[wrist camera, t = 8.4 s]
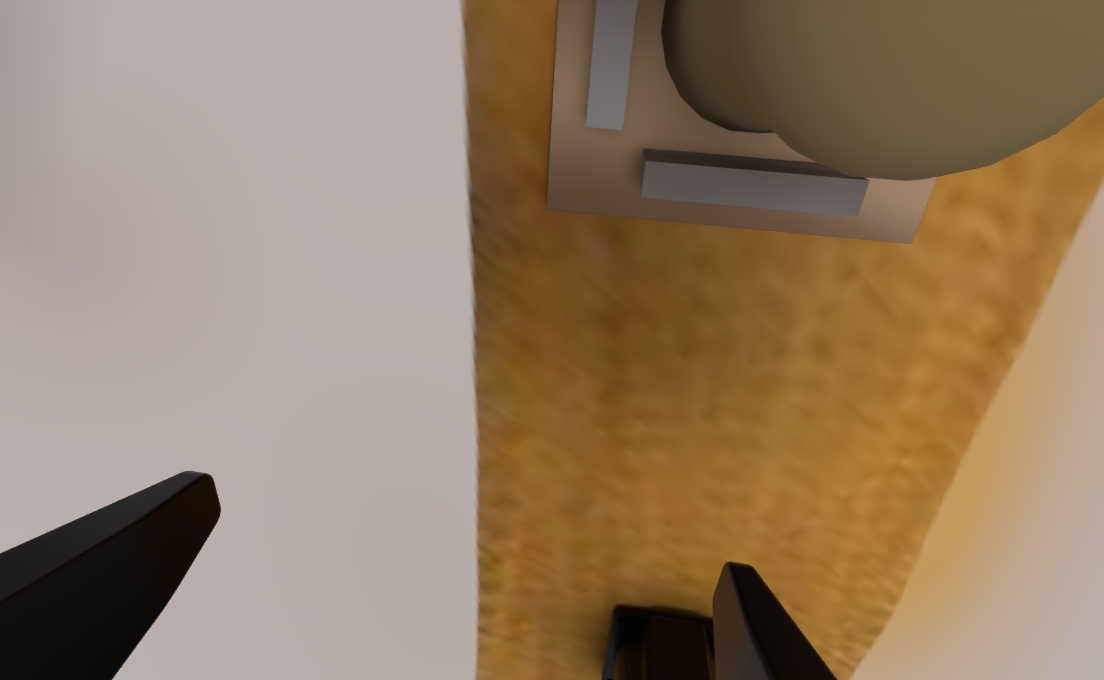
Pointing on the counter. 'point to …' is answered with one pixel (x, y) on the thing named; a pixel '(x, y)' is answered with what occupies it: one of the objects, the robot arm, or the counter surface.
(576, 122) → the clip holder
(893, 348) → the counter surface
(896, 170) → the cork
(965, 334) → the counter surface
